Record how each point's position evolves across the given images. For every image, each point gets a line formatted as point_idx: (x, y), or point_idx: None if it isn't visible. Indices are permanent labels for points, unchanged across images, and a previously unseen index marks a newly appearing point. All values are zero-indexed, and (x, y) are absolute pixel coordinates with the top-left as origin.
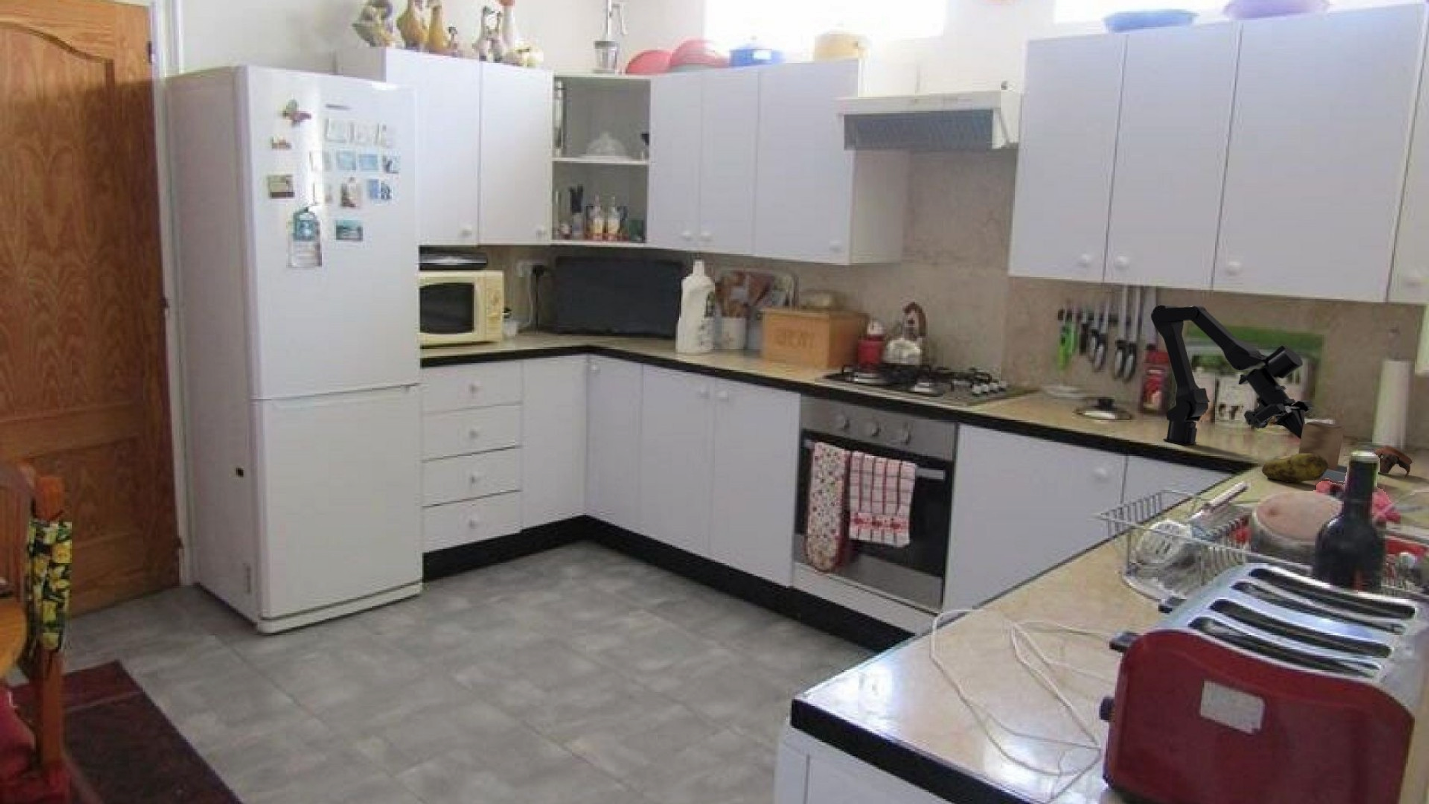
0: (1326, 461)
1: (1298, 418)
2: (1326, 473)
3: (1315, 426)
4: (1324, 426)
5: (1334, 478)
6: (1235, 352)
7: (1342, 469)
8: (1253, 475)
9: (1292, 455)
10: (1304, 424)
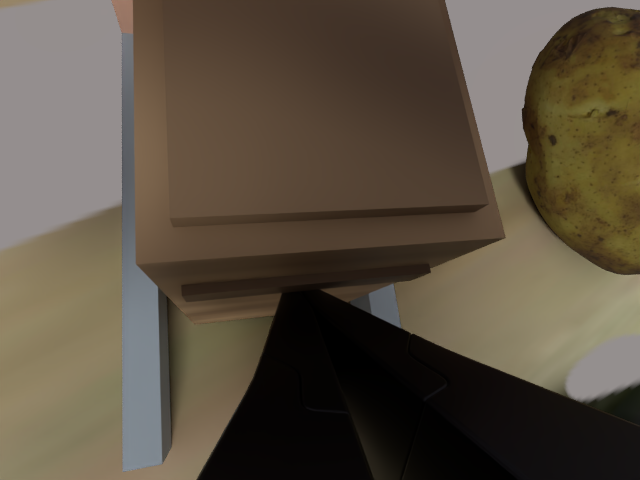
0: (600, 8)
1: (473, 386)
2: None
3: (468, 98)
4: (434, 6)
5: None
6: None
7: None
8: (615, 315)
9: (160, 457)
10: (497, 225)
